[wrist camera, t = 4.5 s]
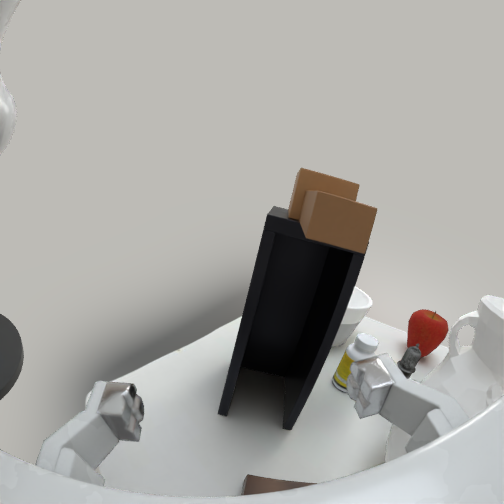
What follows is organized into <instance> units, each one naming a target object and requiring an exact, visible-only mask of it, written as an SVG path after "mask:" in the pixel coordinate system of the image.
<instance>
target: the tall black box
mask: <svg viewBox="0 0 504 504" xmlns="http://www.w3.org/2000/svg"><path fill="white" fill-rule="evenodd" d="M368 244H369V241H368ZM367 246H368V245H367ZM366 250H367V248H366ZM365 254H366V251H365ZM365 254H363V253H359V252H356V251H352V250H349V249H345V248H341V247H338V246H334V245H330V244H327V243H323V242H319V241H315V240H312V239H308V238H306V237H305V234H304V232H303V229H302V227H301V224H300V222H299V220H295V219H292V218H289V215H288V210H287V209H284V208H280V207H276V206H274V207H273V208H272V209H271V211H270V212H269V213H268V214H267V217H266V222H265V226H264V230H263V234H262V238H261V242H260V246H259V250H258V254H257V258H256V262H255V267H254V271H253V275H252V279H251V283H250V287H249V291H248V295H247V299H246V303H245V307H244V311H243V315H242V319H241V323H240V327H239V331H238V335H237V339H236V343H235V347H234V351H233V355H232V359H231V363H230V367H229V371H228V375H227V379H226V383H225V387H224V391H223V395H222V399H221V402H220V406H219V410H218V414H221V415H224V416H227V413H228V409H229V406H230V402H231V399H232V395H233V392H234V388H235V385H236V381H237V378H238V374H239V371H240V367H243V368H247V369H251V370H255V371H259V372H263V373H268V374H272V375H276V376H281V377H285V394H284V415H283V429H288V430H291V429H292V427H293V426H294V424H295V422H296V420H297V418H298V416H299V414H300V412H301V411H302V409H303V407H304V405H305V403H306V401H307V399H308V397H309V395H310V393H311V391H312V389H313V386H314V384H315V382H316V380H317V378H318V376H319V374H320V372H321V369H322V367H323V365H324V363H325V360H326V358H327V356H328V354H329V351H330V349H331V347H332V344H333V342H334V339H335V337H336V335H337V332H338V330H339V327H340V325H341V322H342V320H343V317H344V314H345V312H346V309H347V306H348V304H349V301H350V298H351V296H352V293H353V290H354V287H355V284H356V281H357V278H358V275H359V272H360V269H361V266H362V263H363V260H364V256H365Z"/></svg>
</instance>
